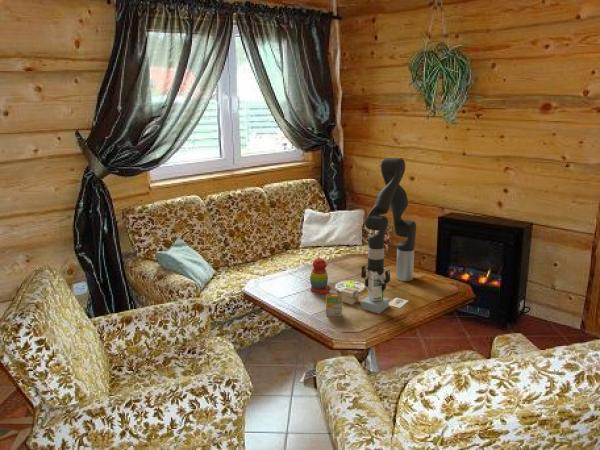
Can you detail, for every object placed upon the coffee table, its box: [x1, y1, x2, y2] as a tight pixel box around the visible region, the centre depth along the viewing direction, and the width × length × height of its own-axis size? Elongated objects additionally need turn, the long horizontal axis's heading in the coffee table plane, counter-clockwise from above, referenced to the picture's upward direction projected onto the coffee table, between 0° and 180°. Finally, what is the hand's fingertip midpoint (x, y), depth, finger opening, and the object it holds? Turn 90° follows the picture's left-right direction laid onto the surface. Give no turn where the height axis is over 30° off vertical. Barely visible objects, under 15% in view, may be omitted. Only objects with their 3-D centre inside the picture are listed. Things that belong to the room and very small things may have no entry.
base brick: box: [360, 295, 390, 314], centre depth 244 cm, size 10×10×4 cm
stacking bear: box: [309, 256, 331, 295], centre depth 264 cm, size 11×10×18 cm
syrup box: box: [367, 270, 385, 301], centre depth 241 cm, size 6×6×14 cm
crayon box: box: [325, 292, 343, 317], centre depth 236 cm, size 7×3×12 cm, turn 92°
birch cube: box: [341, 286, 359, 305], centre depth 251 cm, size 6×6×6 cm
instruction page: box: [389, 297, 409, 309], centre depth 249 cm, size 10×7×1 cm
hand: (375, 288), depth 242 cm, fingers closed on syrup box, 8 cm apart
